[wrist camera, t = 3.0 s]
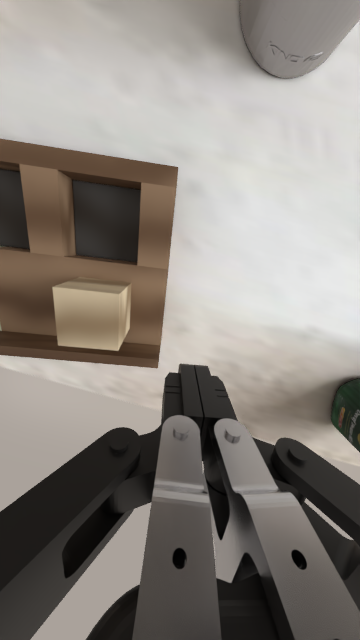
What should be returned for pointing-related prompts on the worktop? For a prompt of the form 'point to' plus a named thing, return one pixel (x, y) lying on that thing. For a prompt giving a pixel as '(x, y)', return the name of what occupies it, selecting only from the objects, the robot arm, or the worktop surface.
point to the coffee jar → (348, 412)
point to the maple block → (92, 313)
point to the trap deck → (81, 245)
